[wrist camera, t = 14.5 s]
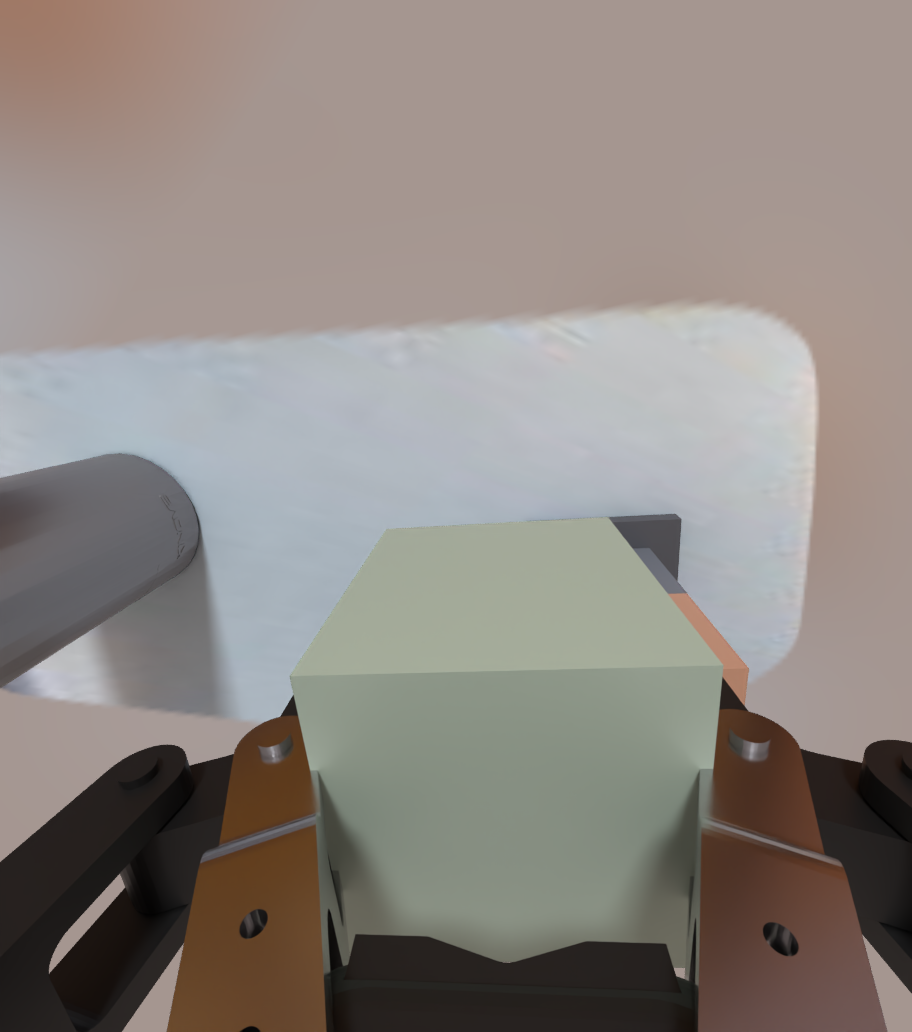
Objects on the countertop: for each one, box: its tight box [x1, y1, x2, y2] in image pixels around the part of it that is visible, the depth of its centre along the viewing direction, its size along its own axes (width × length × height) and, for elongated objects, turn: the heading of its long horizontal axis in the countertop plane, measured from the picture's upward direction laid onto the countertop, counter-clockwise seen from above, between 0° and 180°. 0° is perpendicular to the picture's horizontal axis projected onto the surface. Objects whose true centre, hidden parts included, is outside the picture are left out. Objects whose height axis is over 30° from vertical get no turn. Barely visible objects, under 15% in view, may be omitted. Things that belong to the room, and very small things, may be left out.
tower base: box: [543, 514, 686, 594], centre depth 27 cm, size 9×9×7 cm
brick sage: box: [290, 517, 724, 968], centre depth 10 cm, size 6×6×6 cm
